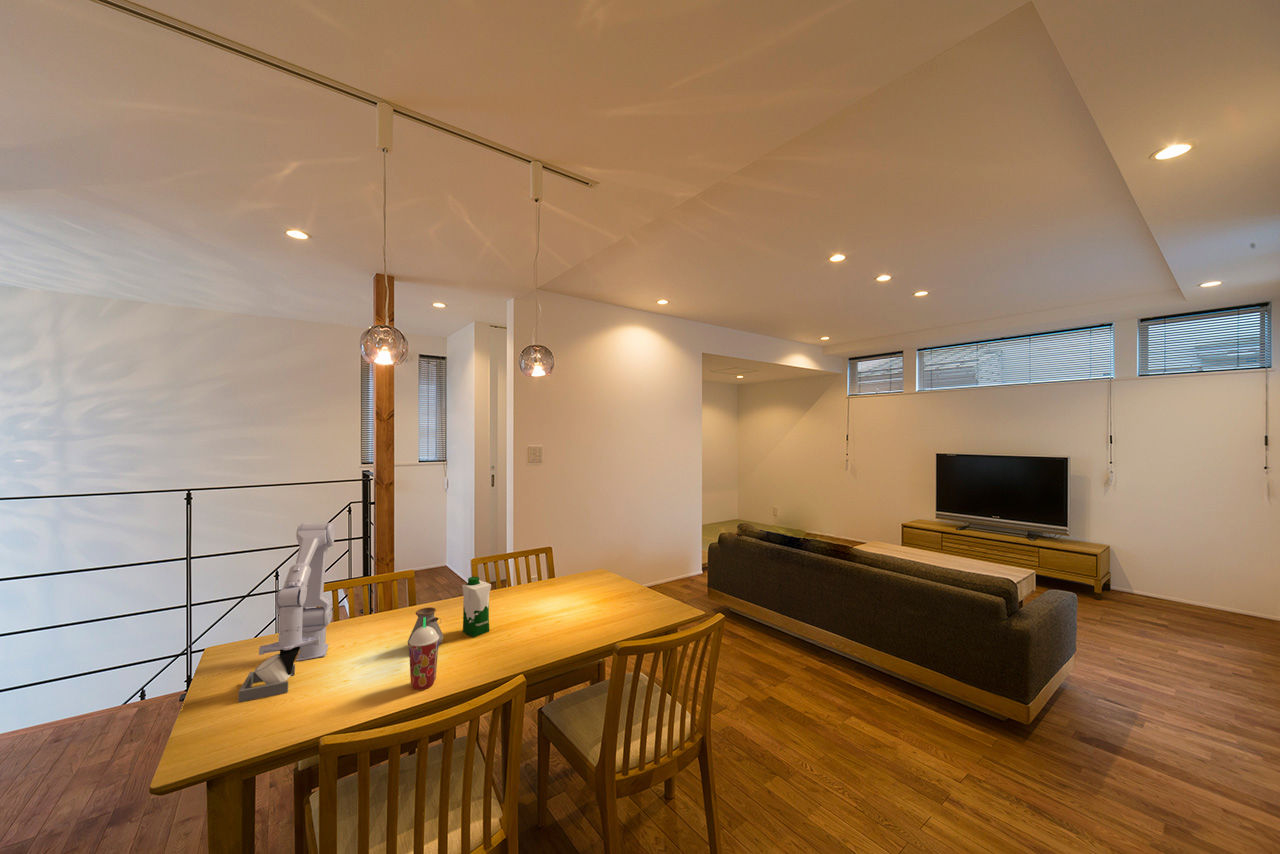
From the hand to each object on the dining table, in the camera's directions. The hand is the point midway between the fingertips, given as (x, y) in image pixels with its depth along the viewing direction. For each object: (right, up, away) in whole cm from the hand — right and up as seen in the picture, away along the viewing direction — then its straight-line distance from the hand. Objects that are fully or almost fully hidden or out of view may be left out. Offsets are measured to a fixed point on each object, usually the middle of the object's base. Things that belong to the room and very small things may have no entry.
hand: (289, 673), depth 141 cm
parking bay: (-4, -3, -2) cm, 5 cm away
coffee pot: (+32, -4, +21) cm, 39 cm away
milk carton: (+43, -4, +37) cm, 57 cm away
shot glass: (-2, -2, -1) cm, 3 cm away
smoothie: (+40, -4, 0) cm, 40 cm away
